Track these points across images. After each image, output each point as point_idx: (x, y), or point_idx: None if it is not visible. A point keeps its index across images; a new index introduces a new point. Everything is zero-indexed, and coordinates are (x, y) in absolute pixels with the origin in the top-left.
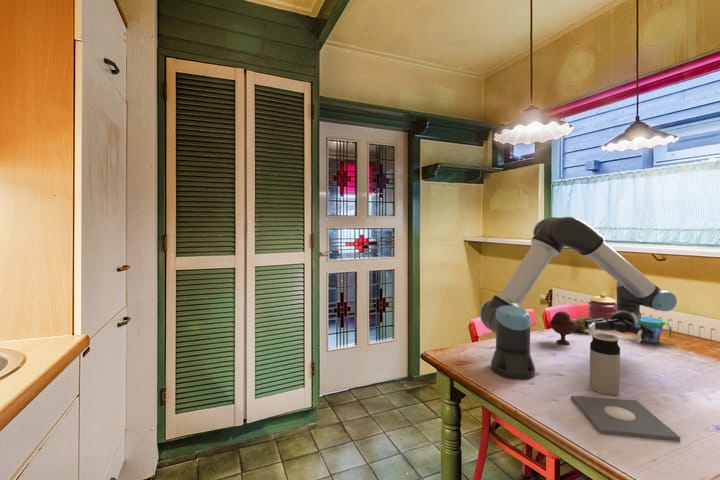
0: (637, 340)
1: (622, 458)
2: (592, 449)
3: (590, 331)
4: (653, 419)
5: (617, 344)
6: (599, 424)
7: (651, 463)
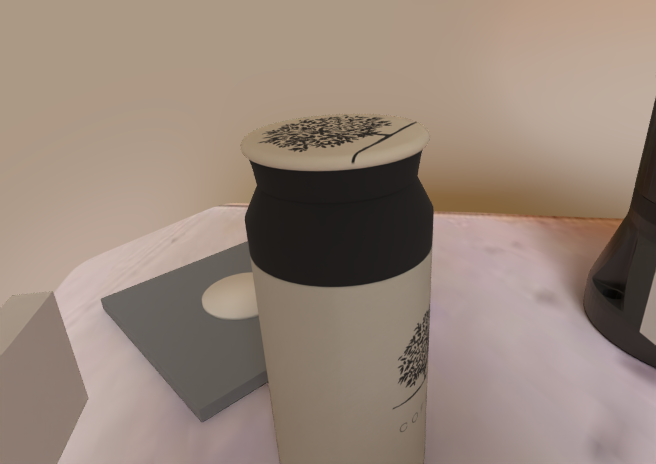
0: (68, 374)
1: (223, 220)
2: None
3: (653, 294)
4: (152, 328)
5: (257, 188)
6: None
7: (179, 232)
